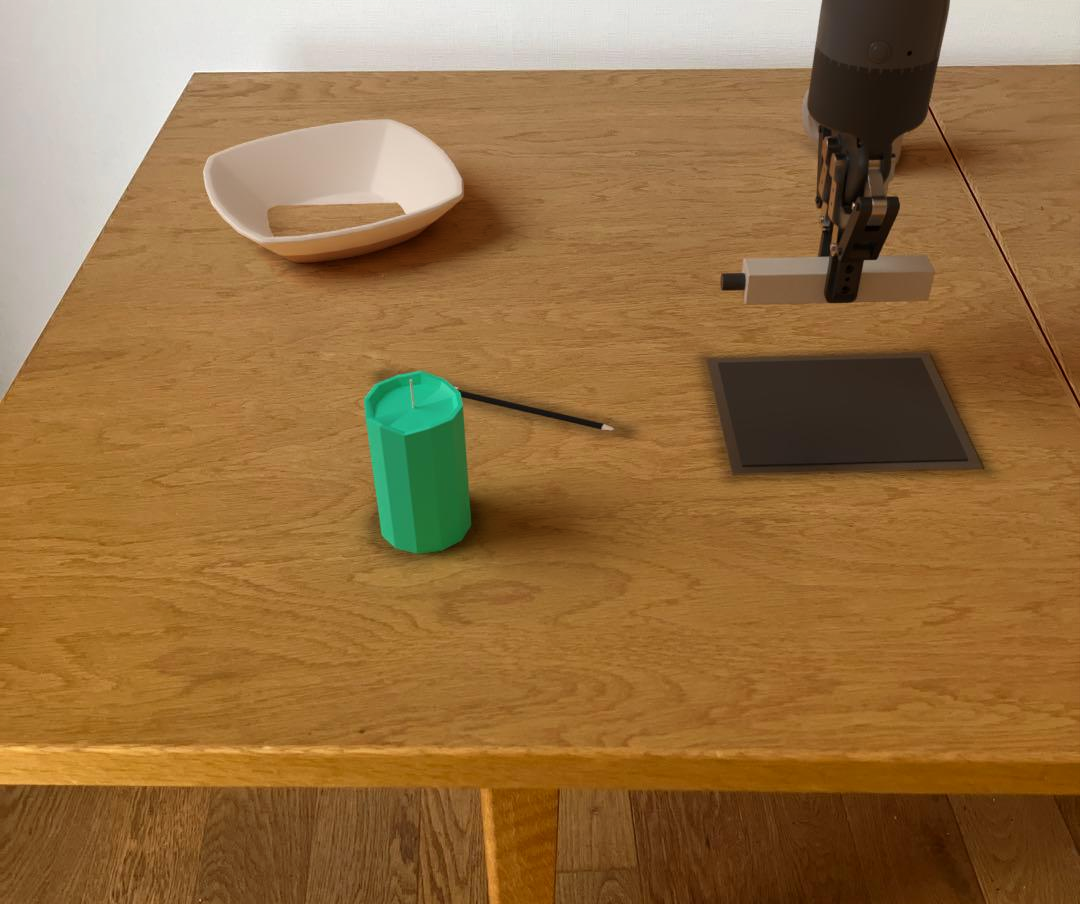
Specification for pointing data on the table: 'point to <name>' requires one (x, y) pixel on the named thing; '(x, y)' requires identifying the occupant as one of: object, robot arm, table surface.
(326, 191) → the bowl
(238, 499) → the table surface
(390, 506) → the candle
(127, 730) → the table surface
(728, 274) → the stylus
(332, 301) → the table surface
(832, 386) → the tablet
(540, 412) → the black pencil
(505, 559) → the table surface
